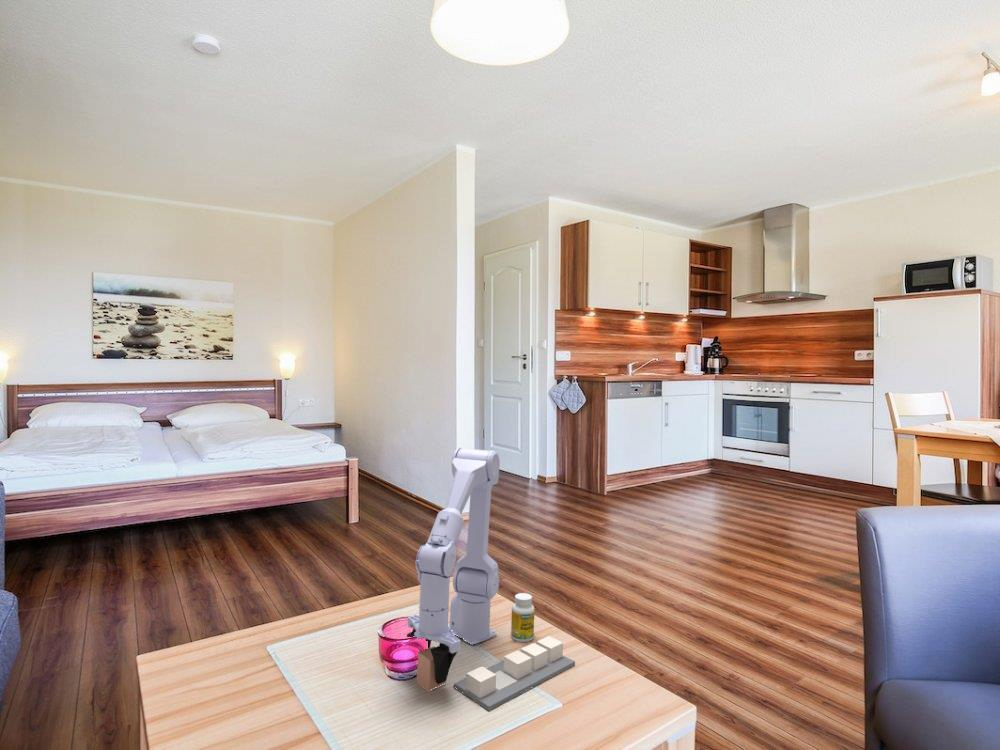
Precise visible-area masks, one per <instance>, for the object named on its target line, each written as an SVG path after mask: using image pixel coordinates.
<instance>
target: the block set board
mask: <svg viewBox="0 0 1000 750" xmlns="http://www.w3.org/2000/svg"><path fill="white" fill-rule="evenodd" d="M575 665H576V661H575V660H573V659H571V658H569V657H567V656H566V655H564V642H562V641H560V640H559V639H556V638H554V637H552V636H550V635H548V636H545V637H544V638H541V639H539V640H537V641H536V642H533V643H530V644H528V645H526V646H524V647H522V648H520V650H515V651H513V652H511V653H509V654H506V655H504V656H503V660H501V661H499V662H497V663H495V664H492V665H491V666H489V667H487V668H486V667H484V666H479V667H478V668H475V669H473V670H471V671H469V672H467V673H466V677H464V678H463V679H461V680H458V681H456V682H454V683H453V688H454V687H456V688H457V689H458V690H457V689H456V688H455V689H456V690H457V691H458V692H460V691H461V692H463V693H464V694H465V695H464V694H463V693H462V694H463V695H464V696H466V695H467V696H468V697H467V696H466V697H467V698H469V697H470V698H471V699H470V698H469V699H470V700H472V699H473V700H474V702H475V701H476V702H477V703H476V702H475V703H476V704H478V703H479V704H480V705H479V704H478V705H479V706H480V707H482V706H483V707H482V708H483V709H484V710H486V711H488V712H490V711H492V710H493V708H494V709H495V707H496V708H498V707H499V706H501V705H503V704H505V703H507V702H509V701H510V700H512V699H514V698H516V697H518V696H519V695H522V694H523V692H524V693H526V692H527V691H529V690H531V689H532V688H531V687H533V688H535V687H537V686H539V685H540V684H543V683H545V682H547V681H548V680H550V679H552V678H553V677H555V676H558V675H559V674H561V673H563V672H565V671H567V670H569V669H570V668H573V667H575ZM534 686H535V687H534ZM530 688H531V689H530ZM528 689H529V690H528ZM526 690H527V691H526ZM525 691H526V692H525ZM461 692H460V693H461ZM473 700H472V701H473Z"/></svg>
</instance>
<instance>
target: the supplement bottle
mask: <svg viewBox="0 0 1000 750" xmlns="http://www.w3.org/2000/svg"><path fill="white" fill-rule="evenodd" d="M514 602H515V603H513V604H512V605H511V606H512V607H511V622H510V623H511V626H510V627H511V628H510V631H511V632H510V636H511V638H512V639H513V640H514V641H515V642H519V643H520V642H521V643H524V642H525V643H526V642H530V641H532V640H533V639H534V636H535V635H534V632H535V612H536V611H535V609H536V608H535V606H534V605H533V604H532V603H533V596H532V595H531V594H529V593H525V592H519V593H516V594H515V595H514Z"/></svg>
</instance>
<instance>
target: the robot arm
mask: <svg viewBox="0 0 1000 750" xmlns="http://www.w3.org/2000/svg"><path fill="white" fill-rule="evenodd" d="M450 462H451V463H450V464H451V472H452V477H453V479H452V482H451V483H452V484H451V487H450V491H449V494H448V499H447V501H446V504H445V508H444V509H442V510H440V511H439V512H437V515H436V518H435V521H434V523H433V526H432V528H431V532H430V534H429V537H428V539H427V542H426V543H425V544H423V545H421V546H420V547H419V549H418V551H417V554H416V557H415V559H416V560H415V562H414V564H415V570H416V572H417V581H418V582H419V612H418V614H414V615H411V616H408V617H407V627H408V628H410V629H411V628H412V631H410V632H408V633H407V634H406V638H407V637H413V636H415V637H417V638H418V639H422V638H425V639H426V641H428V648H430V647H431V645H432V644H431V643H432V642H436V643H438V644H439V645H438V646H435V648H432V649H431V653H432V656H433V659H434V665H435V680H436V683H437V684H440V683H442V682H445V681H447V679H448V675H449V671H450V669H451V665H452V663H453V661H454V659H455V657H456V655H457V654H458V652H459V651H461V646H462V645H461V643H462V639H460V638H459V637H461V638H464V640H466V641H468V642H469V643H471V644H475V645H477V644H479V643H481V642H484V641H487V640H489V639H491V638H493V637H496V636H498V632H496V631H495V630H492V629H490V628H491V627H490V626H491V624H490V623H491V622H490V621H491V602H492V601H491V600H493V599H494V597H495V596H496V595H497V593H498V591H499V585H500V576H499V564H498V563H497V561H496V560H494V559H493V558H492V557H491V556H490V555H489V554H488V548H489V547H488V546H489V530H490V517H491V516H490V515H491V502H492V501H491V500H492V498H491V497H492V489H493V486H494V485H498V484H499V479H500V466H501V465H500V463H501V461H500V456H499V454H498V453H497V451H496V450H494V449H493V450H483V449H473V448H472V449H471V448H463V447H457V448H456V449H455V450H454V452H453V453H452V456H451V461H450ZM468 500H469V508H468V509H469V512H468V526H467V527H468V528H467V538H466V539H467V540H466V542H467V543H466V554H464V555H463V556H461V557H460V558H459V559H458V560H457V553H458V547H457V544H458V541H459V538H460V535H461V532H462V530H463V527H464V524H465V523H464V522H465V520H464V517H463V516H462V513H463V511H464V509H465V507H466V505H467V503H468ZM456 560H457V561H456ZM453 571H454V573H453ZM452 573H453V577H452V588H453V590H454V592H455V594H454V595H453V596H452V599H451V600H450V582H451V575H452ZM449 602H450V603H449ZM449 605H450V606H449ZM449 607H450V611H449ZM451 630H453V631H451ZM453 633H454V634H456V635H458V636H459V637H457V636H455V635H454V634H453ZM464 640H463V641H464ZM466 641H465V642H466ZM469 643H468V644H469ZM471 644H470V645H471Z"/></svg>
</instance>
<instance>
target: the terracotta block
mask: <svg viewBox="0 0 1000 750" xmlns="http://www.w3.org/2000/svg"><path fill="white" fill-rule="evenodd" d="M435 647H436V646H430V648H428V649H425V650H423V651H420V652H418V664H417V667H416V671H417V672H416V684H417V685H419V686H420V687H421V688H423V687H424V688H423V689H424V690H425V691H427V690H428V691H427V692H431V691H432V690H431V689H433V688H435V687H438V686H440V685H442V684H444V683H445V684H446V681H447V680H446V681H445V682H442V683H440V684H437V683H436V680H435V665H434V659H433V656H432V653H431V649H432V648H435ZM442 686H443V685H442ZM440 687H441V686H440ZM438 688H439V687H438ZM430 690H431V691H430Z"/></svg>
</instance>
